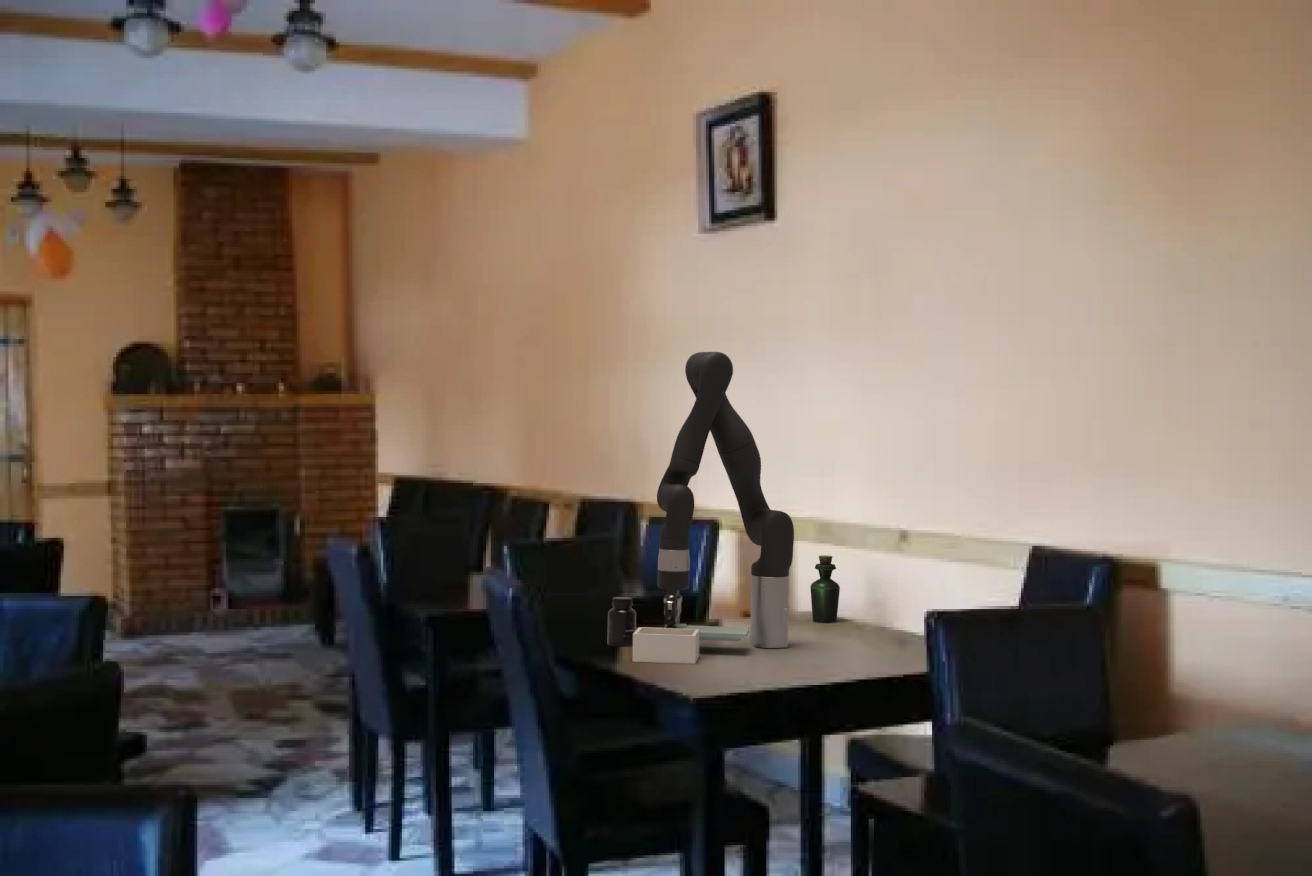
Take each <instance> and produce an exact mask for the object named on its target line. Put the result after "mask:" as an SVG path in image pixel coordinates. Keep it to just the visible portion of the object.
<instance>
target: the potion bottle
mask: <svg viewBox="0 0 1312 876" xmlns="http://www.w3.org/2000/svg"><path fill="white" fill-rule="evenodd" d="M833 557H834V556H833V555H824V554H823V555H819V556H818V560H819V563H816V564H815V567H814V569H816V570H817V571H818V574H819V579H816V580H815V581H813V582H811V584H810V586H809V587H810V599H811V600H810V601H811V612H812V613H811V614H812V621H813V622H815V623H819V622H820V623H819V624H821V622H822V624H831V623H832V622H834V623H836V622H837V620H838V610H839V603H840V591H841V587H840V584H839V583H838V582H836V581H835V580H833V579H832V574H833V571H834V570H837V568H836V564H834V563H832V561H833ZM830 622H831V623H830ZM832 624H833V623H832Z"/></svg>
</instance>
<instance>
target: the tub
mask: <svg viewBox="0 0 1312 876" xmlns="http://www.w3.org/2000/svg"><path fill="white" fill-rule="evenodd" d="M699 657H700V640H699V629H678V628H664V627H647V626H645V627H644V626H643V627H638V628H636V631H635V632H634V633H633V646H632V662H634V663H657V664H658V663H661V664H687V665H695V664H696V663H697V661H698V659H699Z"/></svg>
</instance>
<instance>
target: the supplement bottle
mask: <svg viewBox="0 0 1312 876" xmlns="http://www.w3.org/2000/svg"><path fill="white" fill-rule="evenodd" d="M611 603H612V604H611V606H612V608H610V609H609V610H608V612H607V639H606V640H607V643H606V644H607V646H611V647H622V648H623V647H625V648H627V647H633V633H634V632H635V631H636V630H637V612H636V610H635V609H633V608H632V607H633V605H634V604H633V597H628V596H627V597H626V596H616V597H615V596H614V597H612V602H611Z"/></svg>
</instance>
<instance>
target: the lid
mask: <svg viewBox="0 0 1312 876" xmlns="http://www.w3.org/2000/svg"><path fill="white" fill-rule="evenodd" d="M666 627H667V626H666V625H665V624H664V627H663V628H666ZM676 628H678V629H699V641H713V642H714V641H715V642H716V641H718V642H738V643H740V641H741V639H744V640H745V639H747V637H748V635H749V634H750V632H749V631H750V627H743V626H742V627H740V626H739V627H738V626H737V627H735V626H733V627H732V626H717V625H716V626H714V625H713V626H712V625H711V626H710V625H691V624H689V625H687V623H677V625H676Z"/></svg>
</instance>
